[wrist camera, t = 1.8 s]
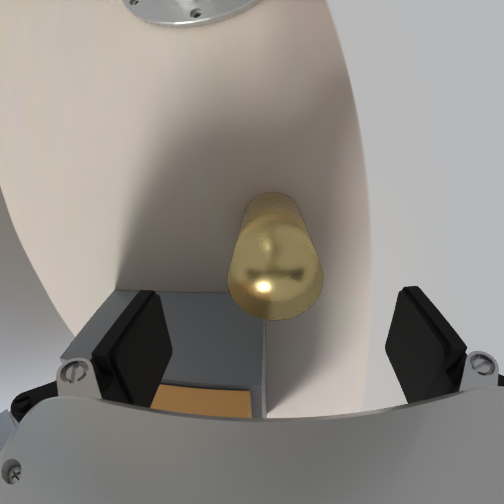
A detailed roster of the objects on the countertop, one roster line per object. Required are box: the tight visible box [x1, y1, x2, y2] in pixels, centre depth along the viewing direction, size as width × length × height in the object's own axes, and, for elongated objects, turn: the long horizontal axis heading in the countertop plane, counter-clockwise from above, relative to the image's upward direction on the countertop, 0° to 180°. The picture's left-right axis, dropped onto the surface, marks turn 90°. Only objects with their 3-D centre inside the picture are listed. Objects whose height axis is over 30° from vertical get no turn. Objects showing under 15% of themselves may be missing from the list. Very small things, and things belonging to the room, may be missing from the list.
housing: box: [60, 290, 267, 418], centre depth 22 cm, size 18×14×10 cm
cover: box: [55, 379, 252, 418], centre depth 14 cm, size 9×12×4 cm
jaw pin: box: [228, 192, 323, 321], centre depth 16 cm, size 4×4×9 cm
